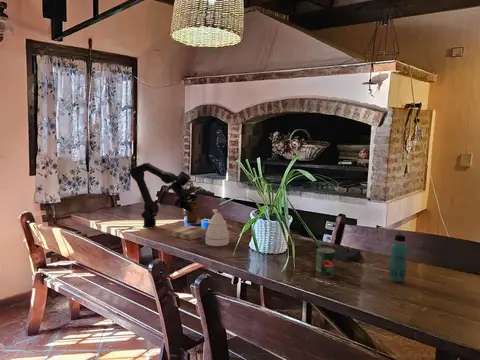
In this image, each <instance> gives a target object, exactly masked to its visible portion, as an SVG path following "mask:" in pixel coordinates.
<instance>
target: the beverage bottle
mask: <svg viewBox="0 0 480 360" xmlns="http://www.w3.org/2000/svg"><path fill="white" fill-rule="evenodd" d="M394 240H395V241H396V242H393V243H392V244H391V245H390V246H391V247H390V248H391V250H390V261H389V267H388V271H389V272H388V277H389V279H390V280H391V281H392V280H393V281H397V282H402V281H405V279H406V272H407V260H408V259H407V257H408V255H407V254H408V247H409V246H407V244H406V243H404V242H406V236H405V235H404V234H395V236H394Z"/></svg>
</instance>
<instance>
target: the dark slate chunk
mask: <svg viewBox="0 0 480 360" xmlns="http://www.w3.org/2000/svg"><path fill="white" fill-rule="evenodd" d="M320 247H326V248H332V249H334V250H335V259H337V260H336V261H338V260H340V261H339V262H341V261H343V262H342V263H345V262H347V263H349V264H350V262H351V263H353V262H357V261H359V260H361V258H363V255H362V254H361V250H357V249H354V248H353V249H352V248H351V249H350V248H349V247H346V246H345V247H344V246H343V245H340V246H337V247H336V246H335V247H334V246H331V245H329V244H323V245H321V246H320ZM314 253H315V254H314ZM313 254H314V255H316V254H317V249H316V250H315V251H313ZM352 261H353V262H352Z"/></svg>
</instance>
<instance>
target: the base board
mask: <svg viewBox="0 0 480 360" xmlns="http://www.w3.org/2000/svg"><path fill="white" fill-rule="evenodd" d="M207 229H208V228H204V227H203V228H202V227H198V226H194V225H193V226H192V225H190V224H188V225H184V226H181V227H177V228H174V229H170V230H169V236H170V237H174V238H178V239H183V240H188V241H192V240H194V239H195V240H196V239H199V238H201V237H204V236H205V237H206V232H207Z"/></svg>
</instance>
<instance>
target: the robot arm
mask: <svg viewBox="0 0 480 360" xmlns="http://www.w3.org/2000/svg"><path fill="white" fill-rule="evenodd" d="M145 172H148V173H150V174H152V175H155V176H156V177H157V178H159V179H160V181H162V182H163V183H164V184H166V185H168V184H169V185H168V186H167V187H168V188H167V190H168V191H169V190H172V191H173V193H174V194H175V195H174V196H175V197H176V198H177V199H176V200H174V202H173V206H174V207H175V208H178V207H179V208H180V209H184V210H185V211H186V212H187V211H189V212H192V209H191V208H190V206H189V205H188V202H189V201H195V202H196V203H197V201H196V200H197V198H198V197H199V194H197V193H196V190H197V188H196V187H195V186H194V185H193V186H190V187H189V188H184V187H185V186H186V185H187V184H188V182H190V180H191V176H190V175H189V174H188V173H186V172H185V171H180V173H179V175H176V173H172V172H168V171H165V170H162V169H161V168H158V167H157V166H155V165H153V164H151V163H150V162H143V163H142V164H139V165H137V166H133V167H131V168H130V169H129V175H130V176H131V179H133V180H134V181H135V182H136V184H137V187H138V190H139V192H140V194H141V198H142V199H143V202H144V205H143V206H144V207H143V209H144V211H143V212H142V213H141V218H143V225H142V227H143V228H151V229H152V228H154V227H156V226H157V221H156V217H157V214H158V213H159V211H160V210H159V209H160V208H159V207H160V206H159V205H158V201H154V200H153V198H152V196H151V194H150V191H149V188H148V186H147V183H146V181H145ZM196 206H197V211H199V207H198V205H196Z"/></svg>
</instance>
